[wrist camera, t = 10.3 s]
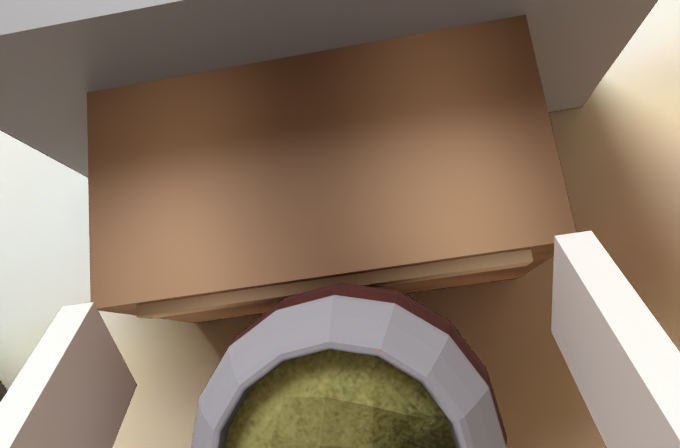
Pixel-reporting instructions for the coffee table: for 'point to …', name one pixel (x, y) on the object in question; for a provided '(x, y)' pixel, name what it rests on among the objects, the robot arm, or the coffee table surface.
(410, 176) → the tan block with ledge
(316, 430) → the mate gourd
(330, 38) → the backstop board
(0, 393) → the mug
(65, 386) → the robot arm
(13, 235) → the coffee table surface
